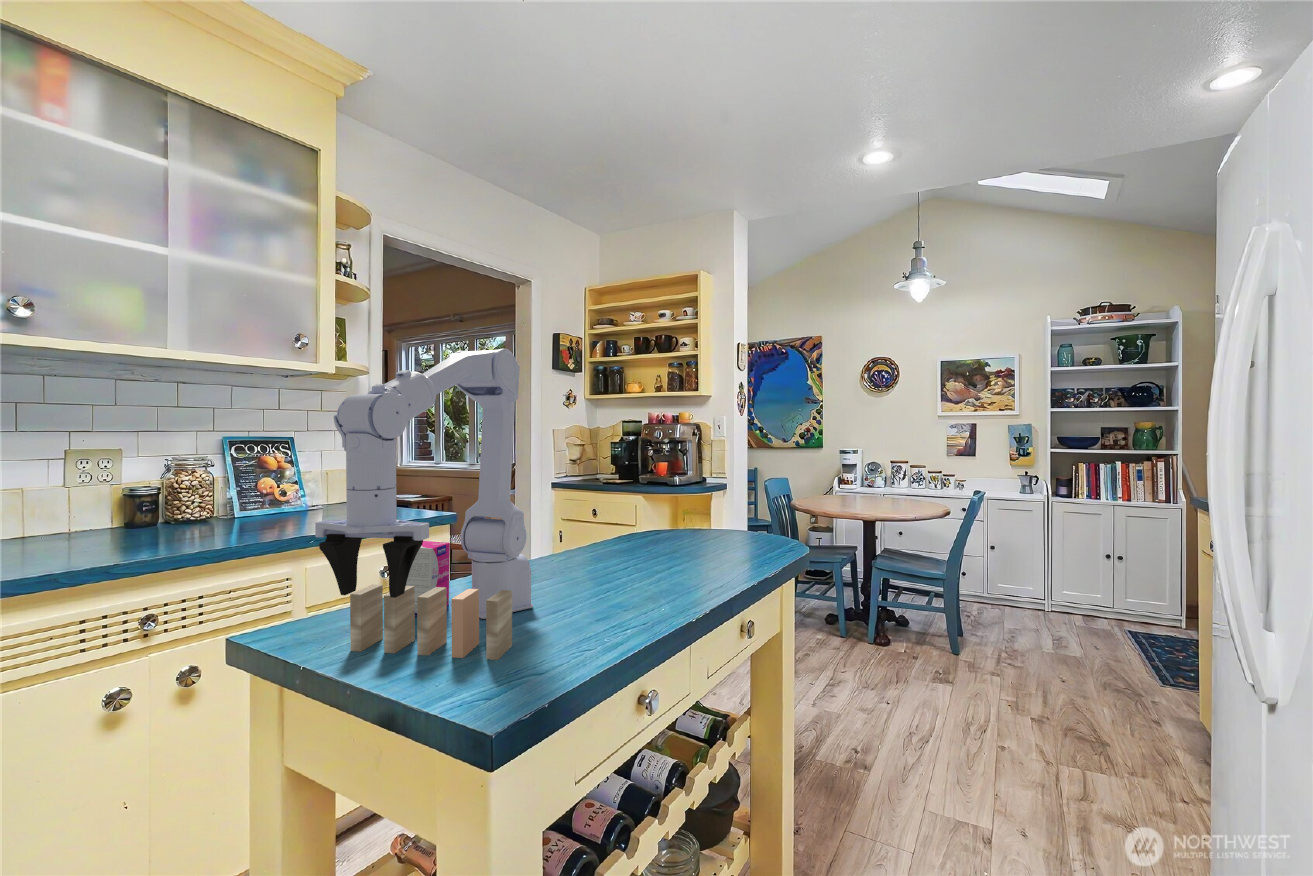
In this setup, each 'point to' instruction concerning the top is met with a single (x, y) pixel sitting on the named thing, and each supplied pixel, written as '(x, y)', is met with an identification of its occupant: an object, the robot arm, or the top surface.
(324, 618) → the top surface
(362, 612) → the domino
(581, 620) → the top surface
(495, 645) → the domino
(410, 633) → the domino
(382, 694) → the top surface
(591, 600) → the top surface
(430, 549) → the supplement box
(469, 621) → the domino
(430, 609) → the domino
